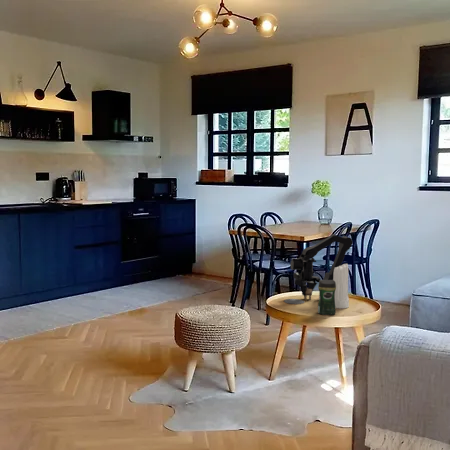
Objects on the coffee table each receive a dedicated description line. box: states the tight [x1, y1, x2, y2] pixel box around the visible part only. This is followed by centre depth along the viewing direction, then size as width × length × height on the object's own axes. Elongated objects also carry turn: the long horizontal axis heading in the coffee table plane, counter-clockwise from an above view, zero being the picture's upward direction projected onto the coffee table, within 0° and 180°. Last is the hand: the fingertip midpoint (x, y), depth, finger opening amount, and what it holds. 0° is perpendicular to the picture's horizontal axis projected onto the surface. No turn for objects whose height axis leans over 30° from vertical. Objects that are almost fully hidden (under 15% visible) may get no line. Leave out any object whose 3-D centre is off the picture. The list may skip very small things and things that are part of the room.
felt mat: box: [283, 298, 305, 305], centre depth 331 cm, size 12×12×1 cm
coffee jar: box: [317, 279, 337, 316], centre depth 303 cm, size 10×8×19 cm
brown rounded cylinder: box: [301, 287, 313, 301], centre depth 337 cm, size 6×6×6 cm
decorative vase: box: [333, 263, 350, 309], centre depth 320 cm, size 11×11×25 cm
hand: (306, 294), depth 337 cm, fingers closed on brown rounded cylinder, 6 cm apart
